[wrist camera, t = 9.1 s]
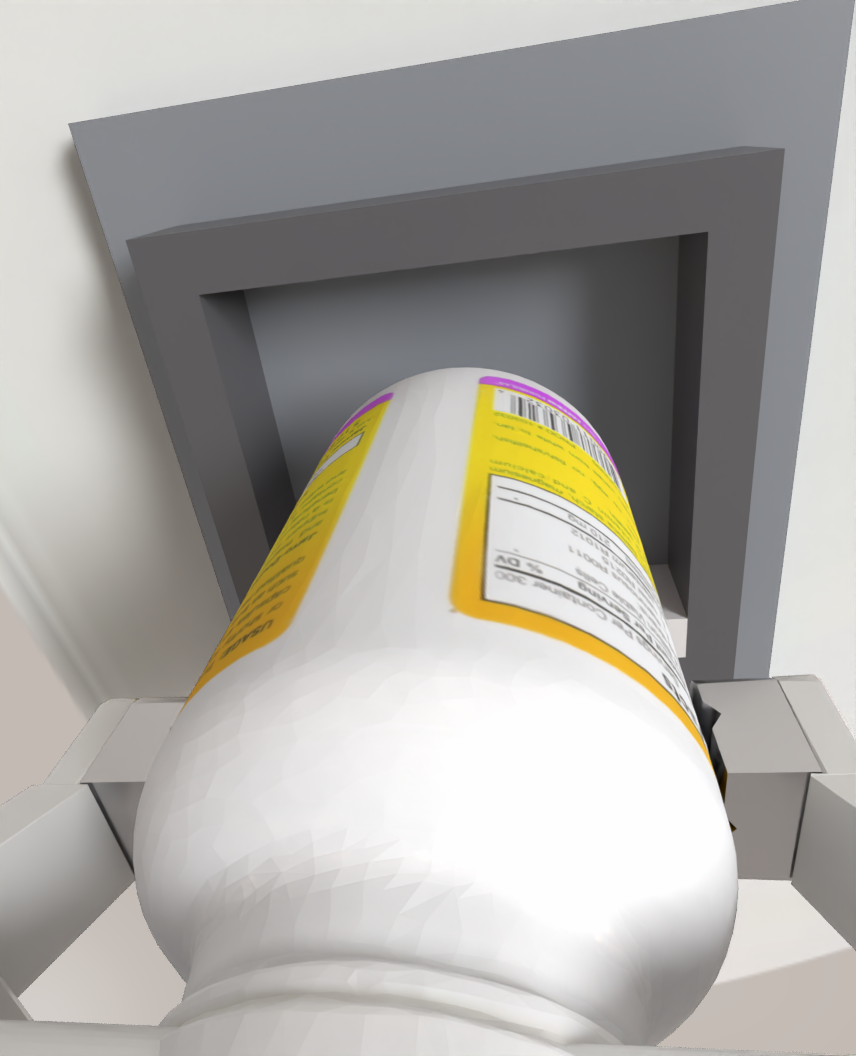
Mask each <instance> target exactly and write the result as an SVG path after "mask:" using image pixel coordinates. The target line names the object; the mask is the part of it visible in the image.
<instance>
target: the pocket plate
mask: <svg viewBox="0 0 856 1056" xmlns="http://www.w3.org/2000/svg"><path fill="white" fill-rule="evenodd" d="M854 3H855V0H799V1H794V2H788V3H782V4H776V5H770V6H764V7H758V8H752V9H746V10H740V11H734V12H728V13H722V14H716V15H710V16H705V17H699V18H693V19H687V20H681V21H675V22H669V23H663V24H657V25H651V26H645V27H639V28H633V29H627V30H621V31H615V32H610V33H604V34H598V35H592V36H586V37H580V38H574V39H568V40H562V41H556V42H550V43H544V44H538V45H532V46H526V47H520V48H515V49H509V50H503V51H497V52H491V53H485V54H479V55H473V56H467V57H461V58H455V59H449V60H443V61H437V62H431V63H425V64H420V65H414V66H408V67H402V68H396V69H390V70H384V71H378V72H372V73H366V74H360V75H354V76H348V77H342V78H336V79H330V80H325V81H319V82H313V83H307V84H301V85H295V86H289V87H283V88H277V89H271V90H265V91H259V92H253V93H247V94H241V95H235V96H230V97H224V98H218V99H212V100H206V101H200V102H194V103H188V104H182V105H176V106H170V107H164V108H158V109H152V110H146V111H140V112H135V113H129V114H123V115H117V116H111V117H105V118H99V119H93V120H87V121H81V122H75V123H69V124H68V125H69V128H70V131H71V134H72V137H73V140H74V143H75V146H76V149H77V152H78V155H79V158H80V162H81V165H82V168H83V171H84V174H85V177H86V180H87V183H88V186H89V189H90V192H91V195H92V198H93V201H94V204H95V207H96V210H97V213H98V217H99V220H100V223H101V226H102V229H103V232H104V235H105V238H106V241H107V244H108V247H109V250H110V253H111V256H112V259H113V262H114V265H115V268H116V271H117V275H118V278H119V281H120V284H121V287H122V290H123V293H124V296H125V299H126V302H127V305H128V308H129V311H130V314H131V317H132V320H133V323H134V326H135V330H136V333H137V336H138V339H139V342H140V345H141V348H142V351H143V354H144V357H145V360H146V363H147V366H148V369H149V372H150V375H151V378H152V381H153V385H154V388H155V391H156V394H157V397H158V400H159V403H160V406H161V409H162V412H163V415H164V418H165V421H166V424H167V427H168V430H169V433H170V436H171V440H172V443H173V446H174V449H175V452H176V455H177V458H178V461H179V464H180V467H181V470H182V473H183V476H184V479H185V482H186V485H187V488H188V491H189V495H190V498H191V501H192V504H193V507H194V510H195V513H196V516H197V519H198V522H199V525H200V528H201V531H202V534H203V537H204V540H205V543H206V546H207V550H208V553H209V556H210V559H211V562H212V565H213V568H214V571H215V574H216V577H217V580H218V583H219V586H220V589H221V592H222V595H223V598H224V601H225V605H226V608H227V611H228V614H229V617H230V620H231V621H232V620H233V618H234V616H235V615H236V613H237V611H238V609H239V608H240V606H241V604H242V602H243V600H244V598H245V597H246V595H247V593H248V591H249V589H250V587H251V585H252V584H253V582H254V580H255V578H256V577H257V575H258V573H259V571H260V570H261V568H262V566H263V564H264V562H265V560H266V559H267V557H268V555H269V553H270V551H271V549H272V548H273V546H274V544H275V542H276V540H277V538H278V537H279V535H280V533H281V531H282V529H283V528H284V526H285V524H286V523H287V521H288V519H289V517H290V515H291V513H292V512H293V510H294V508H295V506H296V504H297V502H298V501H299V499H300V497H301V495H302V494H303V492H304V490H305V488H306V486H307V484H308V483H309V481H310V479H311V477H312V475H313V474H314V472H315V470H316V468H317V466H318V464H319V462H320V461H321V459H322V458H323V456H324V454H325V452H326V451H327V449H328V447H329V446H330V444H331V443H332V441H333V439H334V438H335V436H336V434H337V433H338V432H339V430H340V429H341V428H342V426H343V425H344V424H345V423H346V421H347V420H348V419H349V418H350V417H351V415H352V414H353V413H354V412H355V411H356V410H357V409H358V408H360V407H361V406H362V405H363V404H364V403H365V402H367V401H368V400H369V399H370V398H371V397H373V396H374V395H376V394H377V393H379V392H380V391H382V390H384V389H386V388H388V387H389V386H391V385H393V384H395V383H397V382H399V381H402V380H404V379H406V378H409V377H412V376H415V375H418V374H421V373H425V372H429V371H434V370H439V369H446V368H463V367H470V368H484V369H492V370H498V371H503V372H507V373H511V374H514V375H518V376H520V377H523V378H526V379H528V380H531V381H533V382H535V383H537V384H539V385H541V386H543V387H545V388H547V389H549V390H550V391H552V392H554V393H555V394H557V395H558V396H560V397H561V398H563V399H564V400H566V401H567V402H568V403H569V404H571V405H572V406H573V407H574V408H575V409H576V410H578V411H579V412H580V413H581V414H582V415H583V416H584V417H585V418H586V419H587V421H588V422H589V423H590V424H591V426H592V427H593V428H594V430H595V431H596V432H597V433H598V435H599V436H600V438H601V439H602V441H603V443H604V444H605V446H606V448H607V450H608V452H609V454H610V456H611V458H612V460H613V462H614V464H615V466H616V468H617V471H618V473H619V476H620V479H621V481H622V484H623V487H624V490H625V493H626V496H627V499H628V502H629V506H630V509H631V512H632V515H633V518H634V521H635V525H636V528H637V531H638V534H639V537H640V540H641V543H642V546H643V550H644V553H645V556H646V559H647V562H648V565H649V568H650V571H651V574H652V577H653V581H654V584H655V587H656V590H657V593H658V596H659V599H660V603H661V606H662V610H663V613H664V616H665V619H666V622H667V625H668V629H669V632H670V635H671V638H672V641H673V644H674V648H675V651H676V654H677V657H678V660H679V664H680V667H681V670H682V673H683V676H684V679H685V682H686V685H687V688H688V691H689V688H690V685H691V681H695V680H719V679H744V678H768V677H769V669H770V661H771V653H772V645H773V638H774V630H775V622H776V614H777V606H778V598H779V591H780V583H781V575H782V567H783V559H784V551H785V544H786V536H787V528H788V520H789V512H790V504H791V497H792V489H793V481H794V473H795V465H796V457H797V450H798V442H799V434H800V426H801V418H802V411H803V403H804V395H805V387H806V379H807V371H808V364H809V356H810V348H811V340H812V332H813V324H814V317H815V309H816V301H817V293H818V285H819V277H820V270H821V262H822V254H823V246H824V238H825V230H826V223H827V215H828V207H829V199H830V191H831V183H832V176H833V168H834V160H835V152H836V144H837V136H838V129H839V121H840V113H841V105H842V97H843V89H844V82H845V74H846V66H847V58H848V50H849V42H850V35H851V27H852V19H853V11H854Z"/></svg>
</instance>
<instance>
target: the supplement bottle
mask: <svg viewBox="0 0 856 1056" xmlns="http://www.w3.org/2000/svg"><path fill="white" fill-rule="evenodd" d="M133 865H134V873H135V881H136V889H137V895H138V898H139V902H140V905H141V909H142V912H143V915H144V918H145V920H146V922H147V924H148V927H149V929H150V931H151V933H152V935H153V937H154V939H155V941H156V943H157V945H158V946H159V948H160V949H161V950H162V952H163V953H164V955H165V956H166V957H167V959H168V960H169V961H170V963H171V964H172V965H173V967H174V968H175V969H176V970H177V972H178V973H179V975H180V976H181V977H182V979H183V980H184V981H185V982H186V983H187V984H186V987H185V991H184V995H183V998H182V1001H181V1003H180V1004H179V1005H177V1006H176V1007H175V1008H174V1009H173V1010H171V1011H170V1012H169V1013H168V1014H167V1016H166V1017H165V1018H164V1019H163V1020H162V1022H161V1023H160V1024H159V1025H158V1026H171V1027H179V1028H178V1029H176V1030H173V1031H171V1032H169V1033H167V1034H165V1035H164V1036H162V1038H161V1040H160V1051H159V1056H575V1055H573V1054H572V1053H570V1052H567V1051H566V1046H567V1045H569V1044H574V1043H585V1044H609V1045H634V1046H656V1045H658V1044H659V1043H660V1042H661V1041H663V1040H664V1039H665V1038H667V1037H668V1036H669V1035H670V1034H672V1033H673V1032H674V1031H675V1030H676V1029H677V1028H678V1027H679V1026H680V1025H681V1024H682V1023H683V1022H684V1021H685V1020H686V1019H687V1018H688V1017H689V1016H690V1015H691V1014H692V1013H693V1012H694V1011H695V1009H696V1008H697V1007H698V1005H699V1004H700V1002H701V1001H702V999H703V998H704V997H705V996H706V994H707V993H708V991H709V990H710V988H711V986H712V985H713V983H714V981H715V980H716V978H717V976H718V973H719V971H720V969H721V967H722V964H723V962H724V960H725V957H726V954H727V951H728V947H729V944H730V941H731V937H732V934H733V929H734V923H735V918H736V911H737V899H738V872H737V858H736V851H735V846H734V841H733V836H732V832H731V829H730V825H729V821H728V818H727V814H726V811H725V807H724V803H723V800H722V796H721V793H720V789H719V786H718V782H717V779H716V775H715V772H714V769H713V766H712V763H711V760H710V755H709V752H708V748H707V745H706V742H705V740H704V737H703V735H702V732H701V729H700V726H699V722H698V719H697V716H696V713H695V710H694V707H693V704H692V701H691V697H690V694H689V691H688V688H687V685H686V682H685V679H684V676H683V673H682V670H681V667H680V664H679V660H678V657H677V654H676V651H675V648H674V644H673V641H672V638H671V635H670V632H669V629H668V625H667V622H666V619H665V616H664V613H663V610H662V606H661V603H660V599H659V596H658V593H657V590H656V587H655V584H654V581H653V577H652V574H651V571H650V568H649V565H648V562H647V559H646V556H645V553H644V550H643V546H642V543H641V540H640V537H639V534H638V531H637V528H636V525H635V521H634V518H633V515H632V512H631V509H630V506H629V502H628V499H627V496H626V493H625V490H624V487H623V484H622V481H621V479H620V476H619V473H618V471H617V468H616V466H615V464H614V462H613V460H612V458H611V456H610V454H609V452H608V450H607V448H606V446H605V444H604V443H603V441H602V439H601V438H600V436H599V435H598V433H597V432H596V431H595V430H594V428H593V427H592V426H591V424H590V423H589V422H588V421H587V419H586V418H585V417H584V416H583V415H582V414H581V413H580V412H579V411H578V410H576V409H575V408H574V407H573V406H572V405H571V404H569V403H568V402H567V401H566V400H564V399H563V398H561V397H560V396H558V395H557V394H555V393H554V392H552V391H550V390H549V389H547V388H545V387H543V386H541V385H539V384H537V383H535V382H533V381H531V380H528V379H526V378H523V377H520V376H518V375H514V374H511V373H507V372H503V371H498V370H492V369H484V368H470V367H463V368H446V369H439V370H434V371H429V372H425V373H421V374H418V375H415V376H412V377H409V378H406V379H404V380H402V381H399V382H397V383H395V384H393V385H391V386H389V387H388V388H386V389H384V390H382V391H380V392H379V393H377V394H376V395H374V396H373V397H371V398H370V399H369V400H368V401H367V402H365V403H364V404H363V405H362V406H361V407H360V408H358V409H357V410H356V411H355V412H354V413H353V414H352V415H351V417H350V418H349V419H348V420H347V421H346V423H345V424H344V425H343V426H342V428H341V429H340V430H339V432H338V433H337V434H336V436H335V438H334V439H333V441H332V443H331V444H330V446H329V447H328V449H327V451H326V452H325V454H324V456H323V458H322V459H321V461H320V462H319V464H318V466H317V468H316V470H315V472H314V474H313V475H312V477H311V479H310V481H309V483H308V484H307V486H306V488H305V490H304V492H303V494H302V495H301V497H300V499H299V501H298V502H297V504H296V506H295V508H294V510H293V512H292V513H291V515H290V517H289V519H288V521H287V523H286V524H285V526H284V528H283V529H282V531H281V533H280V535H279V537H278V538H277V540H276V542H275V544H274V546H273V548H272V549H271V551H270V553H269V555H268V557H267V559H266V560H265V562H264V564H263V566H262V568H261V570H260V571H259V573H258V575H257V577H256V578H255V580H254V582H253V584H252V585H251V587H250V589H249V591H248V593H247V595H246V597H245V598H244V600H243V602H242V604H241V606H240V608H239V609H238V611H237V613H236V615H235V616H234V618H233V620H232V621H231V623H230V625H229V627H228V629H227V630H226V632H225V634H224V636H223V638H222V639H221V641H220V643H219V645H218V646H217V648H216V650H215V652H214V654H213V655H212V657H211V659H210V661H209V662H208V664H207V666H206V668H205V670H204V671H203V673H202V675H201V677H200V678H199V680H198V682H197V684H196V685H195V687H194V689H193V690H192V692H191V694H190V696H189V697H188V699H187V701H186V703H185V704H184V706H183V708H182V709H181V711H180V713H179V715H178V716H177V718H176V720H175V722H174V724H173V726H172V728H171V730H170V732H169V733H168V735H167V737H166V739H165V741H164V743H163V745H162V746H161V748H160V750H159V752H158V754H157V756H156V758H155V759H154V762H153V764H152V767H151V769H150V772H149V774H148V777H147V779H146V782H145V785H144V788H143V791H142V794H141V797H140V801H139V805H138V809H137V815H136V822H135V828H134V843H133Z"/></svg>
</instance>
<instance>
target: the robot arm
mask: <svg viewBox="0 0 856 1056" xmlns="http://www.w3.org/2000/svg"><path fill="white" fill-rule="evenodd" d="M689 694H690V697H691V701H692V704H693V707H694V710H695V713H696V716H697V719H698V722H699V726H700V729H701V732H702V735H703V737H704V740H705V742H706V745H707V748H708V752H709V755H710V760H711V763H712V766H713V769H714V772H715V775H716V779H717V782H718V786H719V789H720V793H721V796H722V800H723V803H724V807H725V811H726V814H727V818H728V821H729V825H730V829H731V832H732V836H733V841H734V846H735V851H736V858H737V872H738V879H759V880H789V881H792V882H791V884H792V885H793V886H794V887H795V889H796V890H797V891H798V892H799V893H800V894H801V895H802V896H803V897H804V898H805V899H806V900H807V901H808V902H809V903H810V904H811V905H812V906H813V907H814V908H815V909H816V910H817V911H818V912H819V913H820V914H821V915H822V916H823V917H824V918H825V920H826V921H827V922H828V923H829V924H830V925H831V926H832V927H833V928H834V929H835V930H836V931H837V932H838V933H839V934H840V935H841V936H842V937H843V938H844V939H845V940H846V941H847V942H848V943H849V944H850V945H851V946H852V947H853V948H854V949H855V950H856V739H855V737H854V735H853V734H852V732H851V730H850V729H849V727H848V725H847V724H846V722H845V720H844V718H843V717H842V715H841V713H840V712H839V710H838V708H837V706H836V705H835V703H834V701H833V700H832V698H831V696H830V694H829V693H828V691H827V689H826V688H825V686H824V684H823V682H822V681H821V679H819V678H818V677H816V676H815V675H796V676H776V677H772V678H744V679H719V680H695V681H691V685H690V688H689ZM187 699H188V697H156V698H140V699H139V698H114V699H109V700H107V701H105V702H103V703H102V704H100V706H99V707H98V708H97V710H96V711H95V713H94V714H93V715H92V717H91V718H90V719H89V721H88V722H87V724H86V725H85V727H84V728H83V729H82V731H81V732H80V733H79V735H78V736H77V737H76V739H75V740H74V742H73V743H72V744H71V746H70V747H69V748H68V750H67V751H66V753H65V754H64V755H63V757H62V758H61V760H60V761H59V762H58V764H57V765H56V766H55V768H54V769H53V771H52V772H51V773H50V775H49V776H48V778H47V779H46V780H45V782H44V783H43V784H42V785H32V786H30V787H28V788H27V789H25V790H24V791H22V792H21V793H19V794H18V795H16V796H15V797H13V798H12V799H10V800H9V801H7V802H6V803H4V804H3V805H1V806H0V1056H159V1051H160V1040H161V1038H162V1036H164V1035H165V1034H167V1033H169V1032H171V1031H173V1030H176V1029H178V1028H179V1027H171V1026H147V1025H123V1024H98V1023H75V1022H51V1021H34V1020H33V1019H32V1017H31V1016H30V1014H29V1013H28V1012H27V1010H26V1009H25V1008H24V1006H23V1005H22V1004H21V1002H20V1001H19V1000H18V997H19V996H20V995H21V993H23V992H24V991H25V990H26V989H27V988H28V987H29V986H30V985H31V984H32V983H33V982H34V981H35V980H36V979H37V978H38V977H39V976H40V975H41V974H42V973H43V972H44V971H45V970H46V969H47V968H48V967H49V966H50V965H51V964H52V963H53V962H54V961H55V960H56V959H57V958H58V957H59V956H60V955H61V954H62V953H63V952H64V951H65V950H66V949H67V948H68V947H69V946H70V945H71V944H72V943H73V942H74V941H75V940H76V939H77V938H78V937H79V936H80V935H81V934H82V933H83V932H84V931H85V930H86V929H87V928H88V927H89V926H90V925H91V924H92V923H93V922H94V921H95V920H96V919H97V918H98V917H99V916H100V915H101V914H102V913H103V912H104V911H105V910H106V909H107V908H108V907H109V906H110V905H111V904H112V903H113V902H114V900H116V899H117V898H118V897H119V896H120V895H121V894H122V893H123V892H124V891H125V890H126V889H127V888H128V887H129V886H130V885H131V884H132V883H133V882H134V881H135V873H134V865H133V843H134V828H135V822H136V815H137V809H138V805H139V801H140V797H141V794H142V791H143V788H144V785H145V782H146V779H147V777H148V774H149V772H150V769H151V767H152V764H153V762H154V759H155V758H156V756H157V754H158V752H159V750H160V748H161V746H162V745H163V743H164V741H165V739H166V737H167V735H168V733H169V732H170V730H171V728H172V726H173V724H174V722H175V720H176V718H177V716H178V715H179V713H180V711H181V709H182V708H183V706H184V704H185V703H186V701H187ZM566 1051H567V1052H570V1053H572V1054H573V1055H575V1056H856V1055H850V1054H825V1053H802V1052H778V1051H777V1052H776V1051H754V1050H730V1049H729V1050H728V1049H705V1048H682V1047H658V1046H634V1045H609V1044H585V1043H574V1044H569V1045H567V1046H566Z"/></svg>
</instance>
